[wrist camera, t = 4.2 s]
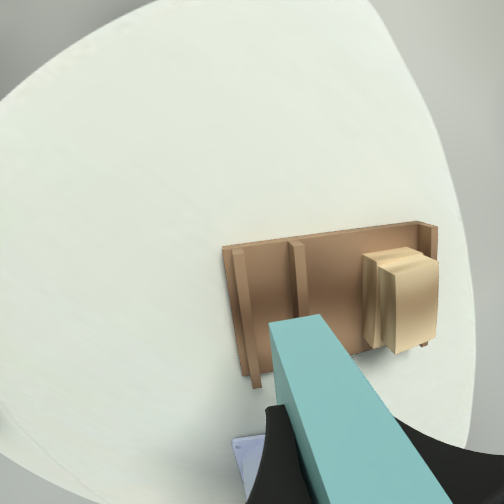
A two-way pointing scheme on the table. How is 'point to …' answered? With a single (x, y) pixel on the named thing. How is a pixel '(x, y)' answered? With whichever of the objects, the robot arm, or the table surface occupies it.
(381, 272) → the upper oak offcut
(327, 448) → the teal block
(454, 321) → the table surface
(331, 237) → the walnut rack
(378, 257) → the lower oak offcut
